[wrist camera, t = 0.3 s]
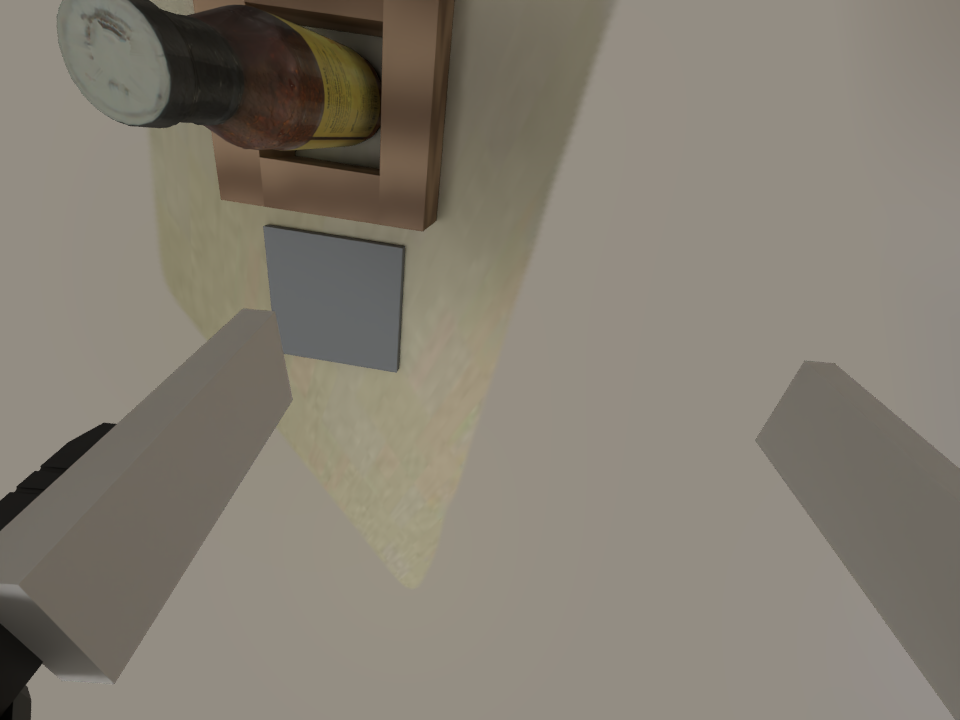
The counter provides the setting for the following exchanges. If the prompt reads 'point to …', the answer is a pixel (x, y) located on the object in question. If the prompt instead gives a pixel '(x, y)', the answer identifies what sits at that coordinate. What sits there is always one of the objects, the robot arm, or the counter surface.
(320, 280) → the mat
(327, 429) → the counter surface
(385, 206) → the rectangular frame
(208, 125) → the sauce bottle
